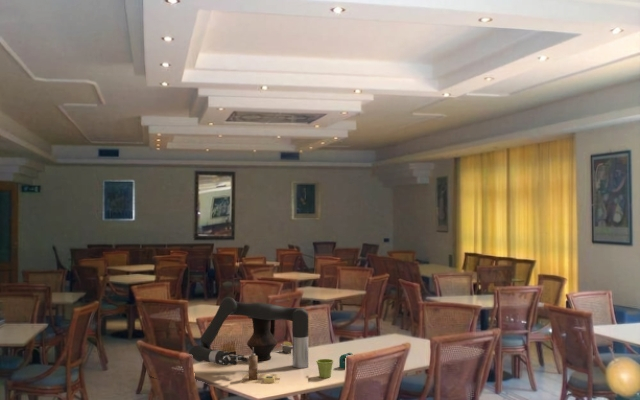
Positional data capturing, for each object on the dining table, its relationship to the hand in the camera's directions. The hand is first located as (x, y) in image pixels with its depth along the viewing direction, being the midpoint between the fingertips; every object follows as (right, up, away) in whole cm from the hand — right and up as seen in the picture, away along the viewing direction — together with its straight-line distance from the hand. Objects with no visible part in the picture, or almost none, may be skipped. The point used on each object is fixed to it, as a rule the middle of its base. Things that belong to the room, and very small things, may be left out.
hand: (241, 361), depth 343 cm
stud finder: (+16, -8, -9) cm, 20 cm away
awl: (+7, -8, -4) cm, 11 cm away
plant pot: (+45, -10, +5) cm, 46 cm away
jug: (+7, -11, +48) cm, 50 cm away
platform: (+21, -11, +66) cm, 70 cm away
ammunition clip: (-13, -11, +43) cm, 46 cm away
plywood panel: (+11, -10, -3) cm, 15 cm away
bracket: (+62, -10, +23) cm, 67 cm away
